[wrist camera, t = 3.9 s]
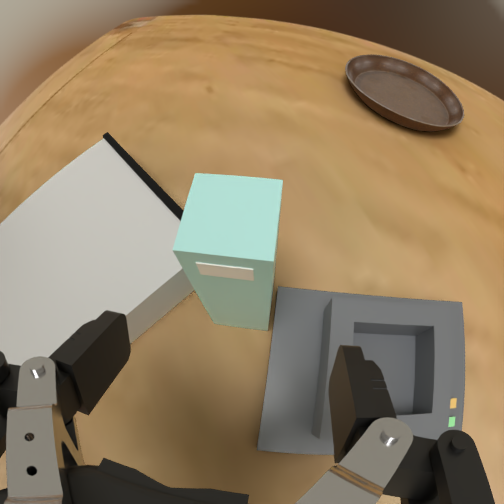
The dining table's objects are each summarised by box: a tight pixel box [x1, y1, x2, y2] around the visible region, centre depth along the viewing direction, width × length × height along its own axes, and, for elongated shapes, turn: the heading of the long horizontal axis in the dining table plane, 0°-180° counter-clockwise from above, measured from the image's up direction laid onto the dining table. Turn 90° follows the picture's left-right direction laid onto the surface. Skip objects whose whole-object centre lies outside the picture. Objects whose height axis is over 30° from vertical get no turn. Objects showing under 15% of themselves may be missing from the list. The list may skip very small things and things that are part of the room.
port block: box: [257, 286, 465, 455], centre depth 19 cm, size 16×12×4 cm
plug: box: [173, 173, 283, 331], centre depth 18 cm, size 4×4×12 cm
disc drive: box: [0, 132, 194, 366], centre depth 23 cm, size 18×22×5 cm
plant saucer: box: [345, 55, 464, 132], centre depth 35 cm, size 18×18×3 cm
